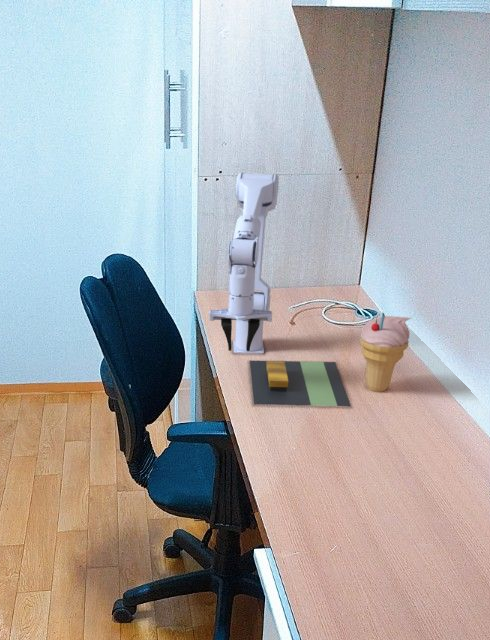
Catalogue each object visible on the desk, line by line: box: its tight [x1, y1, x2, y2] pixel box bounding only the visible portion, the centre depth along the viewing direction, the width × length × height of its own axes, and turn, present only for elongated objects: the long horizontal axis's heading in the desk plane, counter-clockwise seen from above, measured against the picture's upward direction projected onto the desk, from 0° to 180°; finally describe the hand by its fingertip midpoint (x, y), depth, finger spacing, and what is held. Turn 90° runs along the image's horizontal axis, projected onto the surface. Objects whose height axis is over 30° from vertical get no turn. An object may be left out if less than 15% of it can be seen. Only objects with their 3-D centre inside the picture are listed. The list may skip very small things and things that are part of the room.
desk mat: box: [249, 360, 351, 407], centre depth 178 cm, size 26×22×1 cm
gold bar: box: [266, 360, 288, 391], centre depth 177 cm, size 12×4×3 cm, turn 178°
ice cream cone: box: [359, 312, 412, 393], centre depth 170 cm, size 11×11×20 cm
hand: (238, 349), depth 174 cm, fingers open, 4 cm apart
